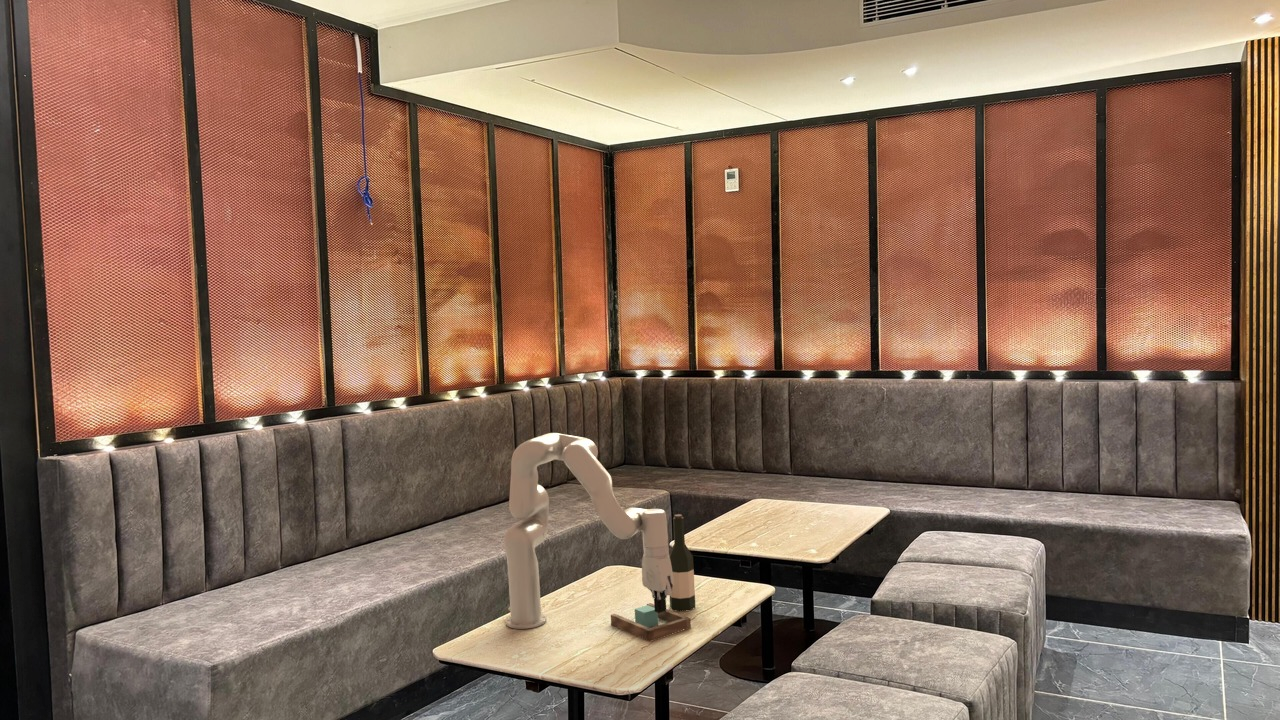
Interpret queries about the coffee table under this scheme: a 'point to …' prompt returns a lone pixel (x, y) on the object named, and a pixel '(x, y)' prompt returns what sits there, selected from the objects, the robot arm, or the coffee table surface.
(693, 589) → the wine bottle
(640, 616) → the teal block
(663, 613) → the frame
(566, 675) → the coffee table surface
